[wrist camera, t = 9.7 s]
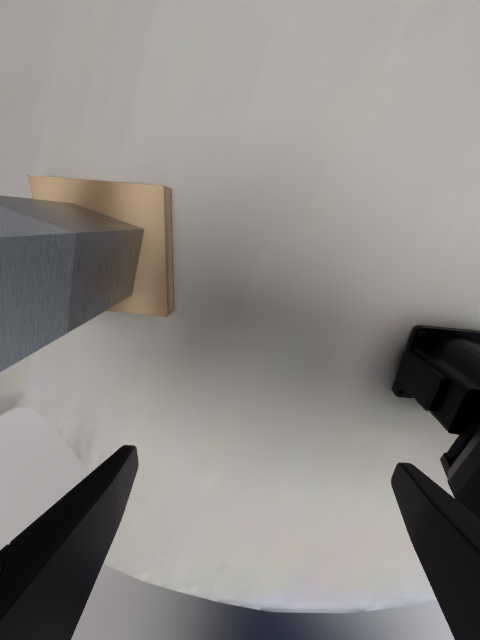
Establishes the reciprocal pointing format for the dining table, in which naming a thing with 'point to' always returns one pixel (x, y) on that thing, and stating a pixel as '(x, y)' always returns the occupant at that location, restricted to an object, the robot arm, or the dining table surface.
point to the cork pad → (134, 208)
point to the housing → (58, 270)
